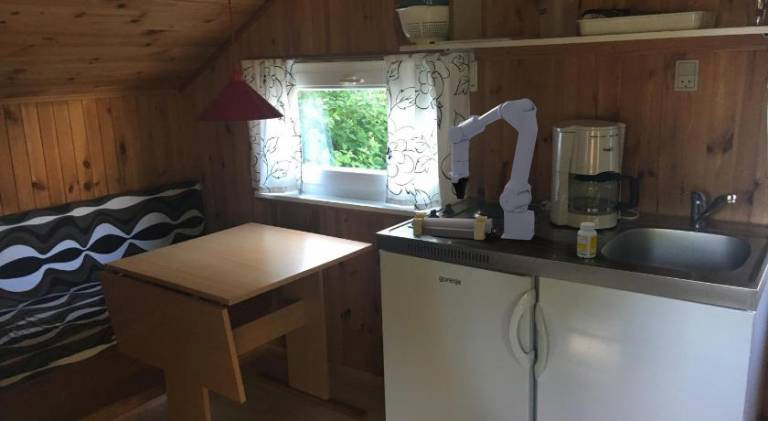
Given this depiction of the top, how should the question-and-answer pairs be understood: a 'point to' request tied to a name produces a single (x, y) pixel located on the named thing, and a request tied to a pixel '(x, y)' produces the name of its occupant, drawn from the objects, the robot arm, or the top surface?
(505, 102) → the robot arm
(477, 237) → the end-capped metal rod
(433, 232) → the dark gray bar
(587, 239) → the supplement bottle
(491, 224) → the tube
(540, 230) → the top surface
